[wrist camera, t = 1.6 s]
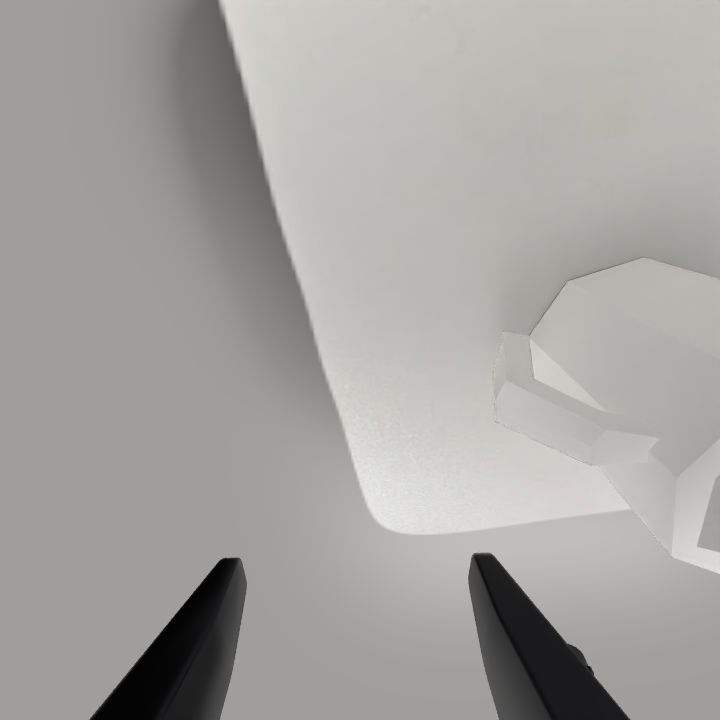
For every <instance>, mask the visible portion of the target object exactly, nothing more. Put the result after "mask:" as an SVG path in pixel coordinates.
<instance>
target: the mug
mask: <svg viewBox="0 0 720 720" xmlns="http://www.w3.org/2000/svg"><path fill="white" fill-rule="evenodd" d="M529 344H530V347H529ZM530 351H531V359H532V366H533V374H534V378H532V373H531V360H530ZM493 381H494V407H495V422H497V423H499V424H501V425H503V426H505V427H507V428H510V429H512V430H514V431H516V432H518V433H521V434H523V435H525V436H527V437H529V438H531V439H534V440H536V441H538V442H540V443H542V444H545V445H547V446H549V447H551V448H553V449H555V450H558V451H560V452H562V453H564V454H566V455H568V456H571V457H573V458H575V459H577V460H579V461H582V462H584V463H586V464H588V465H590V466H595V465H596V466H597V467H598V468H599V469H600V471H601V472H602V473H603V474H604V475H605V477H606V478H607V479H608V480H609V482H610V483H611V484H612V485H613V486H614V488H615V489H616V490H617V491H618V493H619V494H620V495H621V496H622V497H623V499H624V500H625V501H626V502H627V504H628V505H629V506H630V507H631V508H632V510H633V511H634V512H635V513H636V515H637V516H638V517H639V518H640V519H641V521H642V522H643V523H644V524H645V525H646V527H647V528H648V529H649V530H650V532H651V533H652V534H653V535H654V536H655V538H656V539H657V540H658V541H659V543H660V544H661V545H662V546H663V547H664V549H665V550H666V551H667V552H668V553H669V555H670V556H671V557H673V558H676V559H678V560H681V561H684V562H687V563H690V564H693V565H696V566H699V567H702V568H705V569H707V570H710V571H713V572H716V573H719V574H720V279H717V278H713V277H710V276H706V275H703V274H700V273H696V272H693V271H689V270H686V269H682V268H679V267H676V266H672V265H669V264H665V263H662V262H659V261H655V260H652V259H648V258H645V257H643V258H640V259H637V260H633V261H630V262H627V263H624V264H621V265H618V266H614V267H611V268H608V269H605V270H602V271H599V272H595V273H592V274H589V275H586V276H583V277H579V278H576V279H573V280H570V281H567V283H566V284H565V286H564V287H563V289H562V290H561V291H560V293H559V294H558V296H557V297H556V299H555V300H554V301H553V303H552V304H551V306H550V307H549V309H548V310H547V311H546V313H545V314H544V316H543V317H542V318H541V320H540V321H539V323H538V324H537V326H536V327H535V328H534V330H533V331H532V333H531V334H530V336H526V335H520V334H515V333H510V332H504V331H503V334H502V338H501V342H500V346H499V351H498V355H497V359H496V363H495V367H494V371H493Z"/></svg>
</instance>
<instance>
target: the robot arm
mask: <svg viewBox="0 0 720 720" xmlns="http://www.w3.org/2000/svg"><path fill="white" fill-rule="evenodd" d="M468 580H469V589H470V594H471V600H472V605H473V611H474V616H475V621H476V626H477V632H478V637H479V642H480V648H481V652H482V658H483V662H484V667H485V671H486V675H487V679H488V682H489V686H490V689H491V693H492V696H493V700H494V703H495V706H496V710H497V714H498V717H499V720H630V719H629V718H628V716H627V715H626V714H625V713H624V712H623V710H622V709H621V708H620V707H619V706H618V704H617V703H616V702H615V701H614V700H613V698H612V697H611V696H610V695H609V694H608V692H607V691H606V690H605V689H604V687H603V686H602V685H601V684H600V683H599V681H598V680H597V679H596V678H595V677H594V672H593V670H592V668H591V667H590V666H585V665H584V663H583V662H582V661H581V660H580V659H579V657H578V656H577V655H576V654H575V653H574V651H573V650H572V649H571V648H570V647H569V645H568V644H567V643H566V642H565V641H564V640H563V638H562V637H561V636H560V635H559V633H557V631H556V630H555V629H554V627H553V626H552V625H551V624H550V623H549V621H548V620H547V619H546V618H545V617H544V615H543V614H542V613H541V612H540V611H539V609H538V608H537V607H536V606H535V605H534V604H533V602H532V601H531V600H530V599H529V597H528V596H527V595H526V594H525V593H524V591H523V590H522V589H521V588H520V587H519V585H518V584H517V583H516V582H515V580H514V579H513V578H512V577H511V576H510V575H509V573H508V572H507V571H506V570H505V569H504V567H503V566H502V565H501V564H500V562H499V561H498V560H497V559H496V558H495V556H493V555H492V554H491V553H474V554H473V555H472V558H471V564H470V570H469V576H468ZM246 588H247V581H246V577H245V572H244V569H243V564H242V561H241V559H240V558H223V559H221V560H220V561H219V562H218V563H217V564H216V566H215V567H214V568H213V569H212V570H211V572H210V573H209V574H208V575H207V577H206V578H205V579H204V580H203V581H202V583H201V584H200V586H198V588H197V589H196V590H195V591H194V593H193V594H192V595H191V596H190V598H189V599H188V600H187V601H186V602H185V604H184V605H183V606H182V607H181V608H180V610H179V611H178V612H177V613H176V614H175V616H174V617H173V618H172V619H171V621H170V622H169V623H168V625H166V627H165V628H164V629H163V631H162V632H161V633H160V634H159V635H158V637H157V638H156V639H155V640H154V641H153V643H152V644H151V645H150V646H149V647H148V649H147V650H146V651H145V652H144V654H143V655H142V656H141V657H140V658H139V660H138V661H137V662H136V663H135V665H134V666H133V667H132V668H131V669H130V671H129V672H128V673H127V675H126V676H125V677H124V678H123V679H122V681H121V682H120V683H119V684H118V685H117V687H116V688H115V689H114V690H113V692H112V693H111V694H110V695H109V697H108V698H107V699H106V700H105V701H104V703H103V704H102V705H101V706H100V707H99V709H98V710H97V711H96V712H95V714H94V715H93V716H92V717H91V718H90V720H220V716H221V713H222V709H223V705H224V701H225V698H226V694H227V690H228V687H229V683H230V679H231V675H232V670H233V665H234V660H235V653H236V648H237V642H238V636H239V631H240V625H241V619H242V613H243V607H244V602H245V596H246Z"/></svg>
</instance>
